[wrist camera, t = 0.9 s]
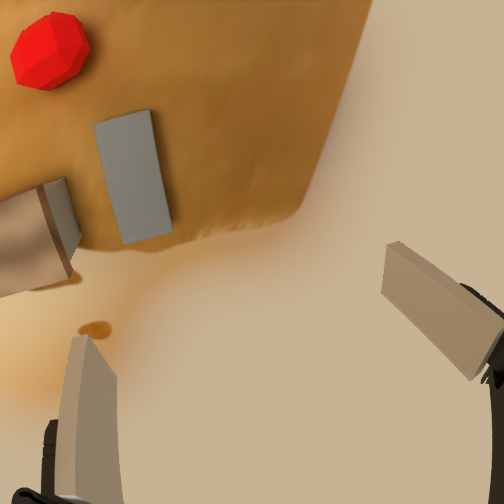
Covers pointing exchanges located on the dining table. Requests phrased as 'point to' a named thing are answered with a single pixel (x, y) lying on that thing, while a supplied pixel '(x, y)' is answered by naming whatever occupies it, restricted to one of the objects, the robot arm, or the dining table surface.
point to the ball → (49, 51)
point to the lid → (30, 243)
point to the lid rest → (134, 176)
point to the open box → (63, 214)
